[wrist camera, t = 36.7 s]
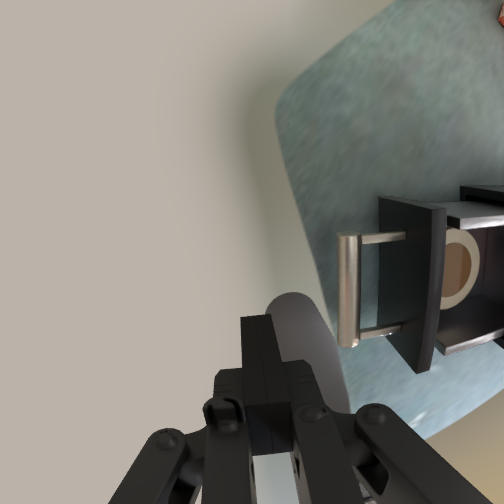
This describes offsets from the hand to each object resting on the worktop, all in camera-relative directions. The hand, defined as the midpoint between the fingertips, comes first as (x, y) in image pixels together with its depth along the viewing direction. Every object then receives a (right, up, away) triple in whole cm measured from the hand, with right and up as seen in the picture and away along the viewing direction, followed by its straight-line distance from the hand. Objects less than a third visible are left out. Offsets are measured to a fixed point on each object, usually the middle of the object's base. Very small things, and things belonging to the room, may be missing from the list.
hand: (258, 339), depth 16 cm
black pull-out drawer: (+14, +4, +9) cm, 17 cm away
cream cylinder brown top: (+15, +4, +8) cm, 17 cm away
